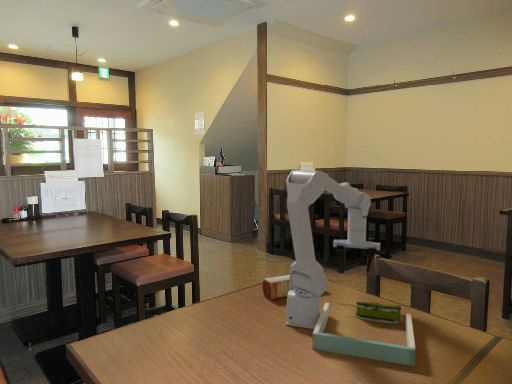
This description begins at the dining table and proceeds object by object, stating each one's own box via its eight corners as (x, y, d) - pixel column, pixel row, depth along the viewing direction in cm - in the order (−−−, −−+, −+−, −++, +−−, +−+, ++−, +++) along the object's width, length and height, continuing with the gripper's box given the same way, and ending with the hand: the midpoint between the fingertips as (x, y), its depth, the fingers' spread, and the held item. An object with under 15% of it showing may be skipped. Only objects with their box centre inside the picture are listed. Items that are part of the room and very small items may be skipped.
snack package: (312, 285, 138) (312, 267, 137) (323, 291, 132) (323, 272, 131) (261, 295, 129) (261, 276, 128) (270, 302, 123) (270, 282, 122)
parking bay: (312, 348, 94) (312, 333, 94) (325, 315, 113) (325, 302, 112) (414, 366, 87) (415, 350, 86) (410, 327, 105) (411, 314, 104)
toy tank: (402, 311, 103) (400, 291, 112) (332, 303, 109) (336, 284, 118) (401, 333, 106) (399, 311, 114) (333, 323, 112) (337, 303, 120)
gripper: (380, 227, 122) (379, 267, 124) (335, 224, 127) (334, 263, 128) (380, 232, 115) (379, 274, 117) (332, 229, 120) (332, 270, 122)
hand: (355, 269), depth 122 cm, fingers open, 7 cm apart
